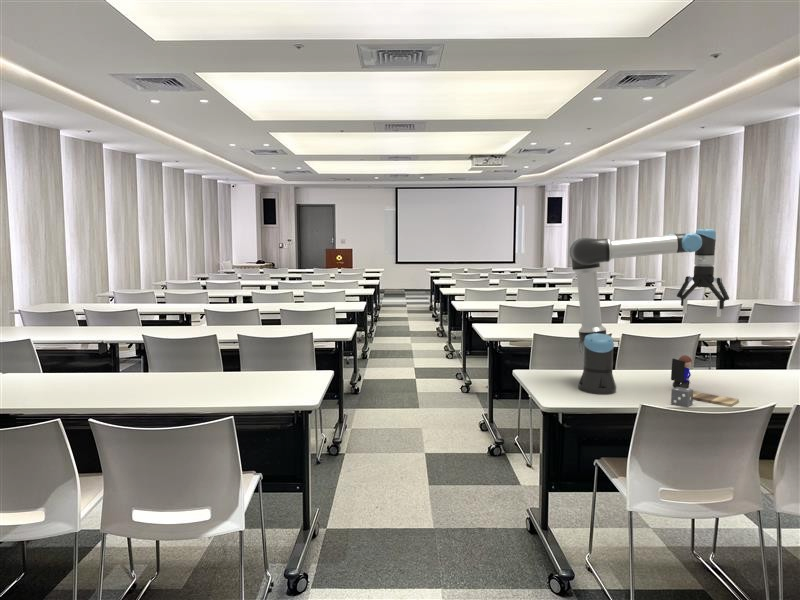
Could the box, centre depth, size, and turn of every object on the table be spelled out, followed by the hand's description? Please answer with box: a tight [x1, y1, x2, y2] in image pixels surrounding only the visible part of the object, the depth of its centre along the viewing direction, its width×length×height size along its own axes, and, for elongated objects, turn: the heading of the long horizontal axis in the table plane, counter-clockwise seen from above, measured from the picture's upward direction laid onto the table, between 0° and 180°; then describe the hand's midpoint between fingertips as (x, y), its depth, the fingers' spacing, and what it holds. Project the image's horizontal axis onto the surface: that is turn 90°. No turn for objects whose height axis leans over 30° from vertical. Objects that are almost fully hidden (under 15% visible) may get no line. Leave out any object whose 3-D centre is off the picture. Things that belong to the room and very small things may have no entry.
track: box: [693, 390, 740, 408], centre depth 234 cm, size 21×10×1 cm, turn 44°
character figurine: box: [670, 355, 693, 389], centre depth 247 cm, size 8×7×15 cm
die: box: [670, 387, 694, 408], centre depth 226 cm, size 6×6×6 cm
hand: (701, 315), depth 249 cm, fingers open, 13 cm apart
